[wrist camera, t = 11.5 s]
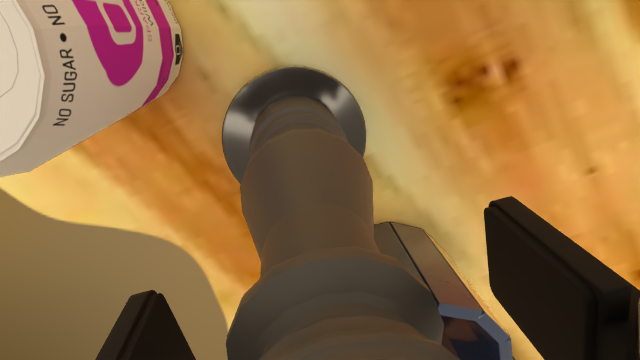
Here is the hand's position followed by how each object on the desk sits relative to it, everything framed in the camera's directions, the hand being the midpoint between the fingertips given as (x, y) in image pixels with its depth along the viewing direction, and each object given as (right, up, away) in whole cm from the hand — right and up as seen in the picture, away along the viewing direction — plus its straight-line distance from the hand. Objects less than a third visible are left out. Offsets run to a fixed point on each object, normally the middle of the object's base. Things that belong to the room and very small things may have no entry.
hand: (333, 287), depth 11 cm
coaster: (-2, +6, +17) cm, 18 cm away
